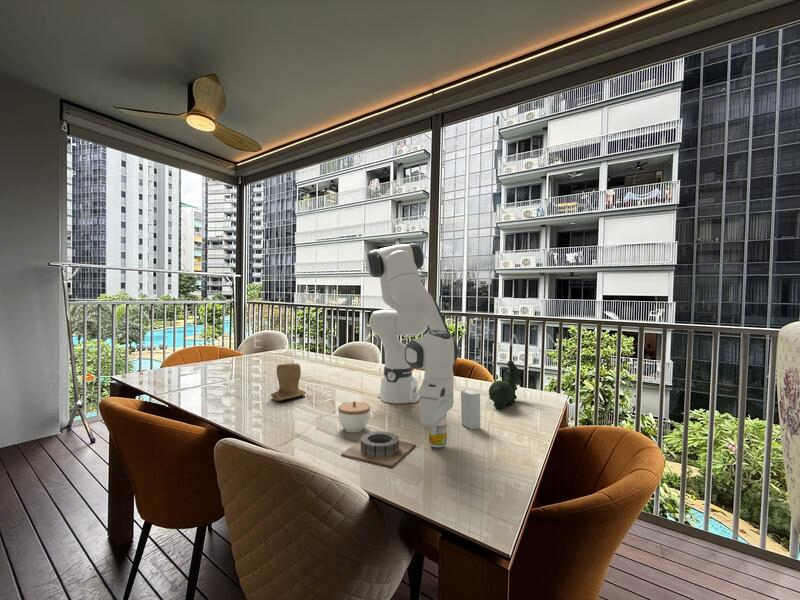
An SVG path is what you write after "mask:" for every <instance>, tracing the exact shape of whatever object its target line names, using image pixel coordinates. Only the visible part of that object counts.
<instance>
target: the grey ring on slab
mask: <svg viewBox="0 0 800 600" xmlns="http://www.w3.org/2000/svg"><path fill="white" fill-rule="evenodd" d="M416 446H417V444H416V443H412V442H408V441H407V442H406V441H402V440H400V438H399V435H397V434H395V433H393V432H388V431H385V430H384V431H371V432H367V433H365V434H363V435H362V436H361V437H360V441H357V443H355V444H353V445H352V446H350V447H349V448H347V449H346V450H344V451H343V452H341V453H340V456H342V457H345V458H350V459H354V460H357V461H358V460H359V461H361V462H366V463H370V464H372V465H373V464H375V465H379V466H381V467H386V468H391V469H392V468H393V467H395V466H396V465H397V464H398V463H399V462H400V461H402V459H403V458H404V457H406V455H408V454H409V453H410V452H411V451H412V450H414V449H415V448H416Z"/></svg>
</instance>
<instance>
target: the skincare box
mask: <svg viewBox="0 0 800 600" xmlns="http://www.w3.org/2000/svg"><path fill="white" fill-rule="evenodd" d="M460 412H461V413H460V414H461V415H460V417H461V421H460V422H461V425H462V426H464V427H466V428H468V429H470V430H475V429H476V430H477V429H481V393H479V392H477V391H474V390H472V389H466V390H461V391H460Z"/></svg>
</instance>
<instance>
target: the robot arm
mask: <svg viewBox="0 0 800 600" xmlns="http://www.w3.org/2000/svg"><path fill="white" fill-rule="evenodd" d="M424 261H425V254H424V251H423V249H422V247H421V245H419V244H418V243H410V242H409V243H408V244H407V243H403V244H394V245H390V246H385V247H381V248H379V249H373V250H369V252H368V253H367V254H366V257H365V268H366V269H367V272H368V273H369V275H370V276H371V277H372V278H379V279H380V290H381V295H382V296H381V297H382V301H383V302H384V303H385V304H386V305H387V306H389V307H390V308H392V309H380V310H375V311H373V312H372V313H371V315H370V317H369V327H370V329H371V330H372V332H373V333H375V335H376V336H378V338H379V339H380V341H381V342H382V346H383V349H384V366H383V377H381V381H380V388H379V389H380V390H379V393H378V394H377V398H379V399H380V401H382V402H385V403H389V404H409V403H418V402H419V420H420V423H421V425H425V426H428V428H429V427H430V434H431V435H436V434H437V433H438V428H437V426H436V424H437V421H438V420H439V419H440V418H441V417H442V416H443V413H445V417H444V418H445V419H446V420H447V413H448V412H449V411H450V410H452V408H453V406H454V403H455V401H454V384H455V383H454V382H455V381H454V379H455V378H454V377H455V374H454V369H453V368H454V367H453V366H454V365H455V363H456V362H457V360H458V357H459V355H460V354H459V353H460V350H459V347H458V344H457V342H456V340H455V339H454V338H453V335H452V334H451V332H450V330H449V328H448V325H447V323H446V320H445V319H444V316H443V313H442V312H441V309H440V307H439V305H438V303H437V301H436V299H435V297H434V296H433V295H432V294H431V293H430V292H429V291H428V289H426V288H425V286H424V284H423V282H422V279H421V276H420V274H419V270H420V269H422V267H423V266H424V263H425V262H424ZM428 327H429V329H430V330H428V331H427V329H428ZM426 331H427V332H426ZM425 332H426V333H425ZM424 333H425V335H423V334H424ZM419 335H423V336H420V337H417V338H414V339H411V340H409V341H408V342H407V344H405V343H403V342H402V341H400V339H399V336H409V337H410V336H419ZM415 369H416V370H422V369H423V370H424V375H423V378H424V379H423V380H422V383H421V385H420V387H419V382H418V380H417V379H416V378H415V377H414V376H413V371H414V370H415ZM420 397H421V398H420ZM417 401H418V402H417Z"/></svg>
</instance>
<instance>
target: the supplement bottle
mask: <svg viewBox="0 0 800 600" xmlns="http://www.w3.org/2000/svg"><path fill="white" fill-rule="evenodd" d="M444 417H445V413H443V416H442V417H441V418H440V419H439V420H438V421H437V424H436V426H437V428H438V433H437V434H436V435H431V434H430V427H429V426H428V445H429V446H431V447H434V448H442V447H443V448H444V447H446V446H447V445H448V444H447V442H448V435H447V434H448V421H447V418H446V419H445V418H444Z"/></svg>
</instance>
